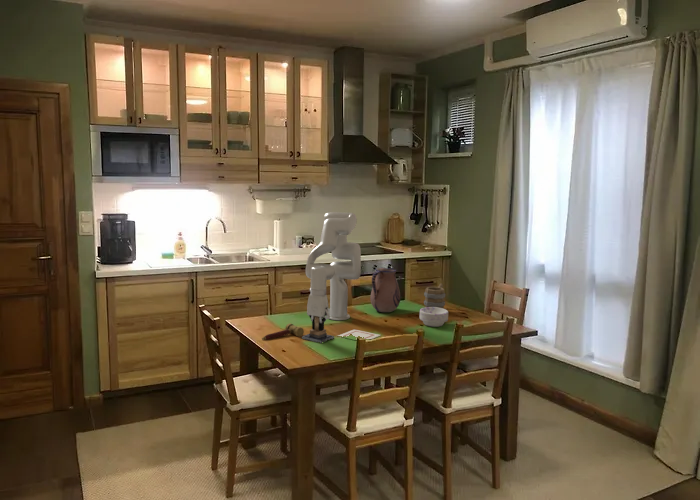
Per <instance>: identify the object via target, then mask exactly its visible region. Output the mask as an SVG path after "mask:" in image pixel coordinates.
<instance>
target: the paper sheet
mask: <svg viewBox="0 0 700 500" xmlns="http://www.w3.org/2000/svg"><path fill="white" fill-rule="evenodd" d="M350 334H352V335H353V336H355V337H358V336H360V337H362V338H363V337H364V339H371V340H373V339H376V338H378V337H380V336H381V334H378V333H372V332H368V331H364V330H359V329H355V328H353V329H352V330H349V331H346V332H344V333H341V334H338V335H337V336H342V337H343V336H346V337H347V336H349V335H350ZM356 339H357V338H356Z"/></svg>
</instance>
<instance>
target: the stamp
mask: <svg viewBox="0 0 700 500" xmlns="http://www.w3.org/2000/svg"><path fill="white" fill-rule="evenodd" d="M319 323H320V318H319V317H317V316H315V329H312V328H311V329H309V333H308V334H309V336H312V337H316V338H321V337H324V336H326V335H328V332H327V328H324V330H321V331H319Z"/></svg>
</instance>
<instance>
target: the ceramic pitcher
mask: <svg viewBox="0 0 700 500" xmlns="http://www.w3.org/2000/svg"><path fill="white" fill-rule="evenodd" d="M374 270H375V271H374V272H373V274H372V275H371V287H372V289H371V292H370V303H371V306H372V307H373V309H374V310H375V311H376V312H380V313H393V312H394V311H396V310H397V308H398V307H399V305H400V303H401V292H400V287H399V283H398V279H397V278H396V272H397V269H395V268H394V267H388V268H387V267H376V268H375V269H374Z"/></svg>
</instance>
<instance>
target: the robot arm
mask: <svg viewBox="0 0 700 500" xmlns="http://www.w3.org/2000/svg"><path fill="white" fill-rule="evenodd" d="M357 222H358V218H357V215H356V214H355V213H354V212H345V211H344V212H340V211H331V212H330V211H328V212H326V213H325V214H324V217H323V225H322V229H321V235H320V239H319V244H318V245H317V246H316V247H314V248H313V249H312V250H311V251H310V253H309V255H308V257H307V260H306V265H305V275H306V277H307V278H308V279H310V288H309V290H308V291H309V292H310V294H309V295H308V299H307V305H306V308H307V310H306V315H307V316H308V317H309V318H310V321H311V329H315V316H317V317H319V318H320V323H319V331H321V330H324V329H325V322H326V321H327V320H332V321H345V320H348V319H349V320H350V318H351V316H350V314H349V313H348V285H347V283H346V281H345V280H358V279H360V276H361V271H362V257H361V256H362V255H361V254H362V252H361V251H362V250H361V246H360V244H359V243H358V242H349V241H348V236H349V235H350V234H351V233H352V232H353V230H355V228H356V226H357ZM330 252H331V257H332V258H333V259H335V261H332V262H331V263H330V264H328V263H327V264H325V263H315V262H316V260H317V259H318V258H319V257H321V256H323V255H326V254H328V253H330ZM336 260H337V261H336ZM339 260H340V261H339ZM341 260H342V261H341ZM344 260H347V261H344ZM327 281H329V286H330V287H329V288H330V289H329V290H330V291H329V292H330V295H329V297H328V295H327ZM328 298H329V300H328Z"/></svg>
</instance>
